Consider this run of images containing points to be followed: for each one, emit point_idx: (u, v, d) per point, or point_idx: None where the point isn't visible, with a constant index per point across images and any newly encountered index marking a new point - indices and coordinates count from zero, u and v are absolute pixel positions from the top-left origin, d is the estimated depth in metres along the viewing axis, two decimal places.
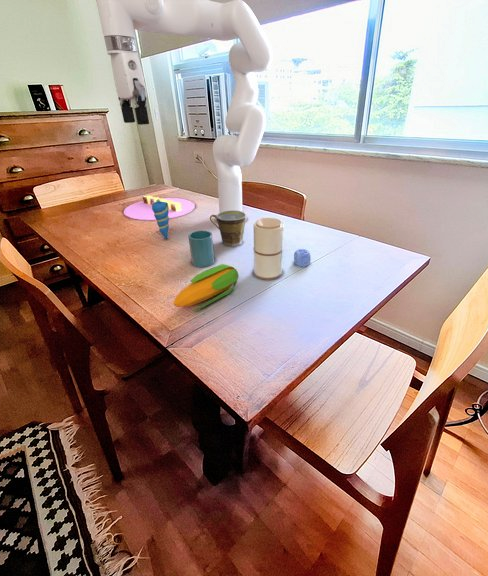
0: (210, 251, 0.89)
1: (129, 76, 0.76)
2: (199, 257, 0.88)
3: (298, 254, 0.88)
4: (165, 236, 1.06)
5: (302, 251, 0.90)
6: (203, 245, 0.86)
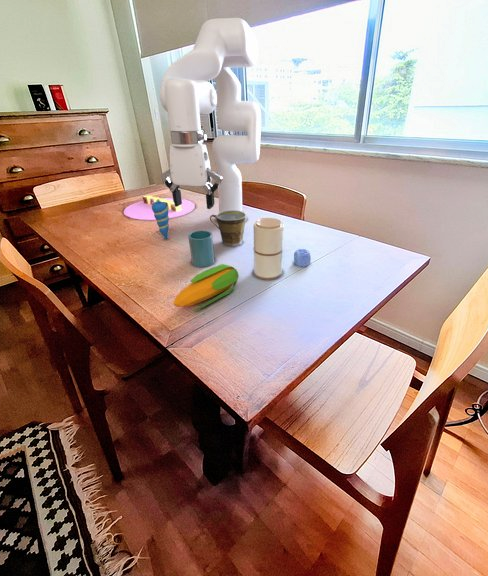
0: (210, 251, 0.89)
1: (204, 167, 0.76)
2: (199, 257, 0.88)
3: (298, 254, 0.88)
4: (165, 236, 1.06)
5: (302, 251, 0.90)
6: (203, 245, 0.86)
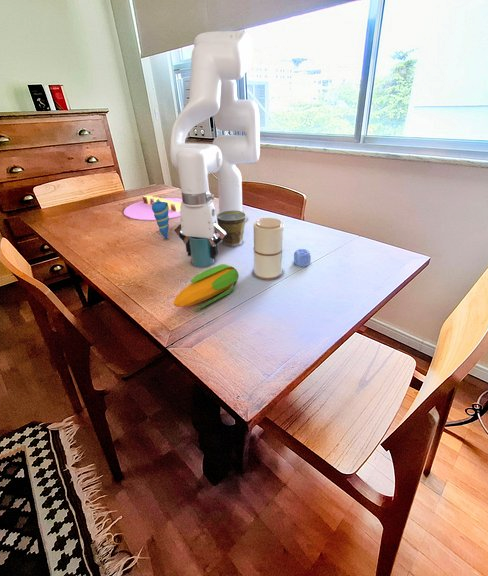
0: (210, 251, 0.89)
1: (212, 222, 0.83)
2: (199, 257, 0.88)
3: (298, 254, 0.88)
4: (165, 236, 1.06)
5: (302, 251, 0.90)
6: (203, 245, 0.86)
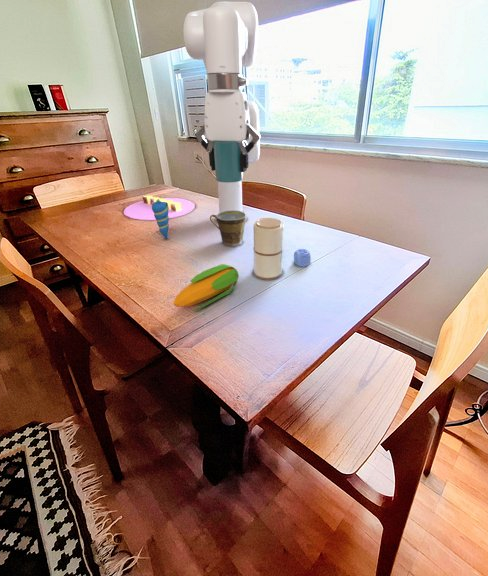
0: (239, 162, 0.72)
1: (244, 118, 0.66)
2: (226, 168, 0.71)
3: (298, 254, 0.88)
4: (165, 236, 1.06)
5: (302, 251, 0.90)
6: (231, 151, 0.69)
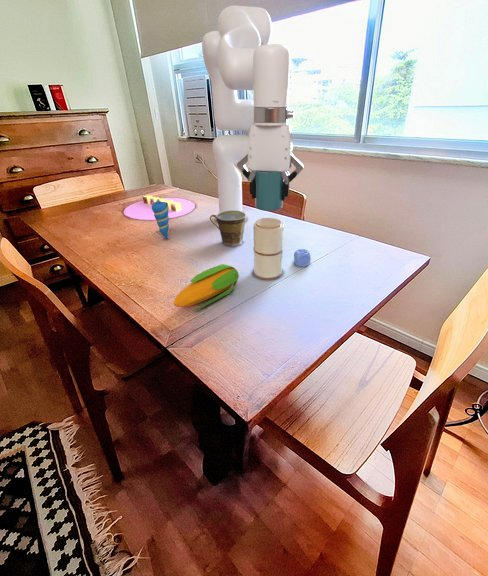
0: (281, 191, 0.72)
1: None
2: (268, 197, 0.71)
3: (298, 254, 0.88)
4: (165, 236, 1.06)
5: (302, 251, 0.90)
6: (275, 181, 0.70)
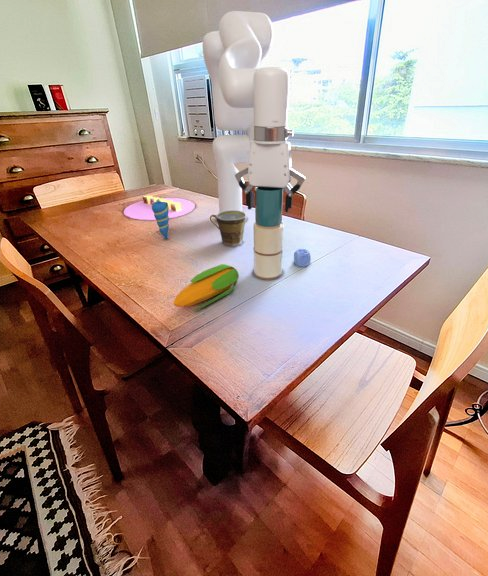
0: (280, 207, 0.74)
1: (288, 166, 0.69)
2: (268, 214, 0.74)
3: (298, 254, 0.88)
4: (165, 236, 1.06)
5: (302, 251, 0.90)
6: (274, 199, 0.72)
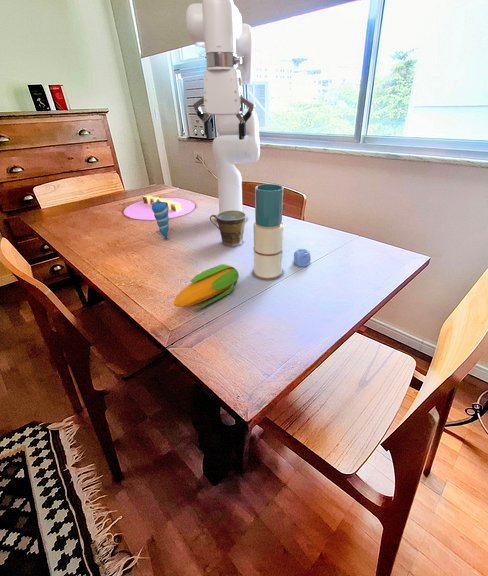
0: (280, 207, 0.74)
1: (238, 92, 0.76)
2: (268, 214, 0.74)
3: (298, 254, 0.88)
4: (165, 236, 1.06)
5: (302, 251, 0.90)
6: (274, 199, 0.72)
